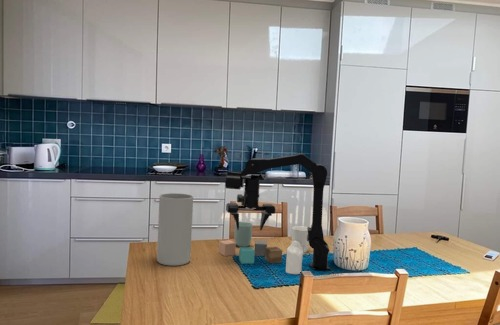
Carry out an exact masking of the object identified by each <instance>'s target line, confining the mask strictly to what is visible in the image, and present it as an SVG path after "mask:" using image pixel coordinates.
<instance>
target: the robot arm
mask: <svg viewBox="0 0 500 325" xmlns="http://www.w3.org/2000/svg"><path fill="white" fill-rule="evenodd" d="M294 165H295V166H296V165H301V166H302V167H303V168H304V169H306V170H307V171H308V172H309V173H311V178H312V188H313V191H312V192H313V195H312V214H311V215H312V220H311V225H310V227H309V226H306V227H307V229H308V235H307V241H309V244H308V246H310V248H311V249H313V251H312V261H311V262H310V263H308V266H310V267H311V268H312V269H313V270H315V271H325V270H327V271H331V267H329V266H328V259H329V253H330V247H329V244H328V243H327V242H326V241H325V237H324V230H323V208H324V207H323V204H324V203H323V201H324V188H325V185H326V181H327V176H328V170H327V167H325V165H323V164H320V163H316V162H315V161H313V160H312V159H311V158H309V157H308V156H306V155H305V153H303V152H301V153H297V154H292V155H286V156H279V157H273V158H257V157H255V158H250V159H248V160H247V162H246V163H245V166H244V167H245V168H244V169H243V170H241V172H234V171H227V172H226V179H225V180H224V182H225V183H224V184H225V185H224V186H225V189H226V190H227V189H228V190H241V188H244V190H243V191H244V192H243V194H241V193H238V194H237V195H236V203H235V202H233V203H232V202H228V203H226V205H225V211H226V213H228V214H230V215H231V216H232V217H233V219H234V222H235V223H236V227H237V230H239V222H240V214H239V211H242V212H243V211H244V212H245V211H250V212H256V211H257V212H261V213H260V214H261V215H260V224H259V230H260V231H262V230H263V228H264V226H265V224H266V222H267V220H268V219H269V217H270V216H273V215H274V214H276V207H275V206H274V205H273V204H272V203H262V205H259V198H260V182H261V181H265V180H266V178H265V177H264V176H263V173H261V172H264V171H267V170H269V169H276V168H283V167H287V166H288V167H289V166H294ZM259 173H260V174H259ZM248 175H251V176H248ZM238 203H239V204H240V203H241V205H239V204H238ZM272 214H273V215H272Z"/></svg>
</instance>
